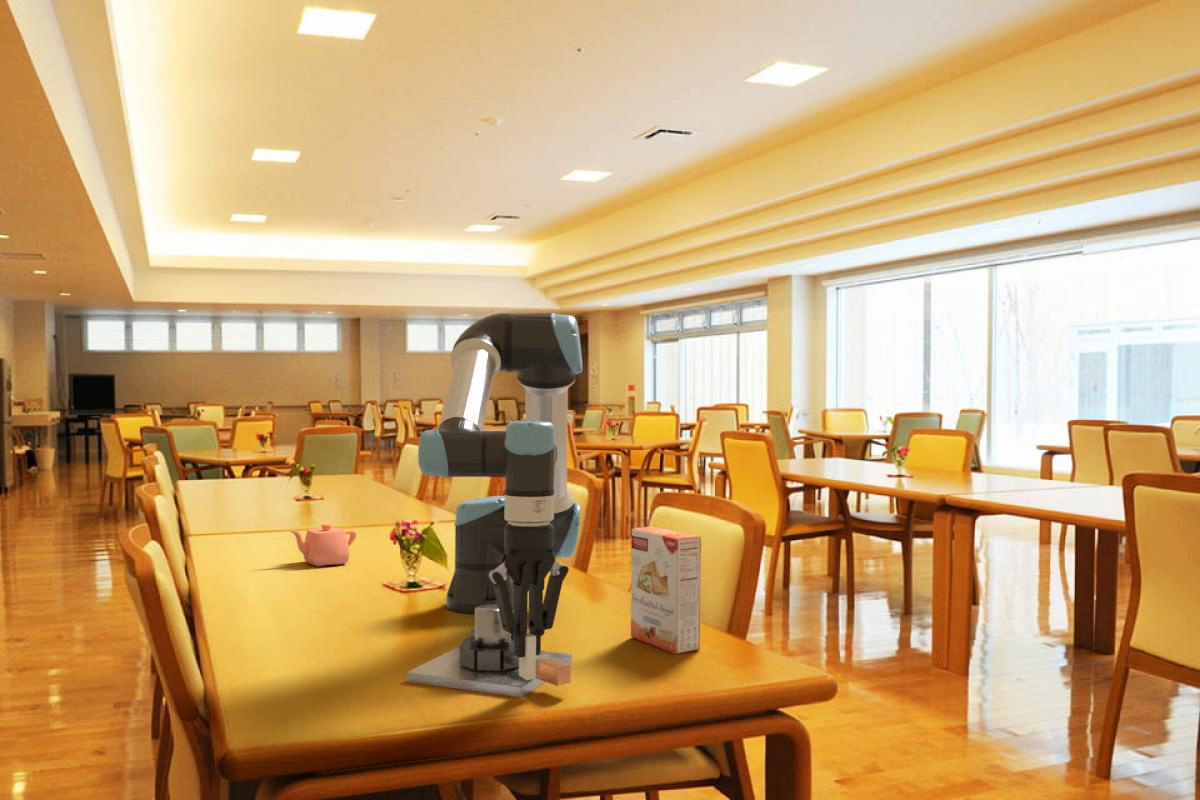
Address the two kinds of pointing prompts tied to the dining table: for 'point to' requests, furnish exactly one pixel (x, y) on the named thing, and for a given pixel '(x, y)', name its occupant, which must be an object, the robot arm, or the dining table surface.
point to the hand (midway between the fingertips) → (527, 676)
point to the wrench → (509, 661)
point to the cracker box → (666, 589)
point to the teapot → (325, 545)
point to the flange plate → (489, 681)
